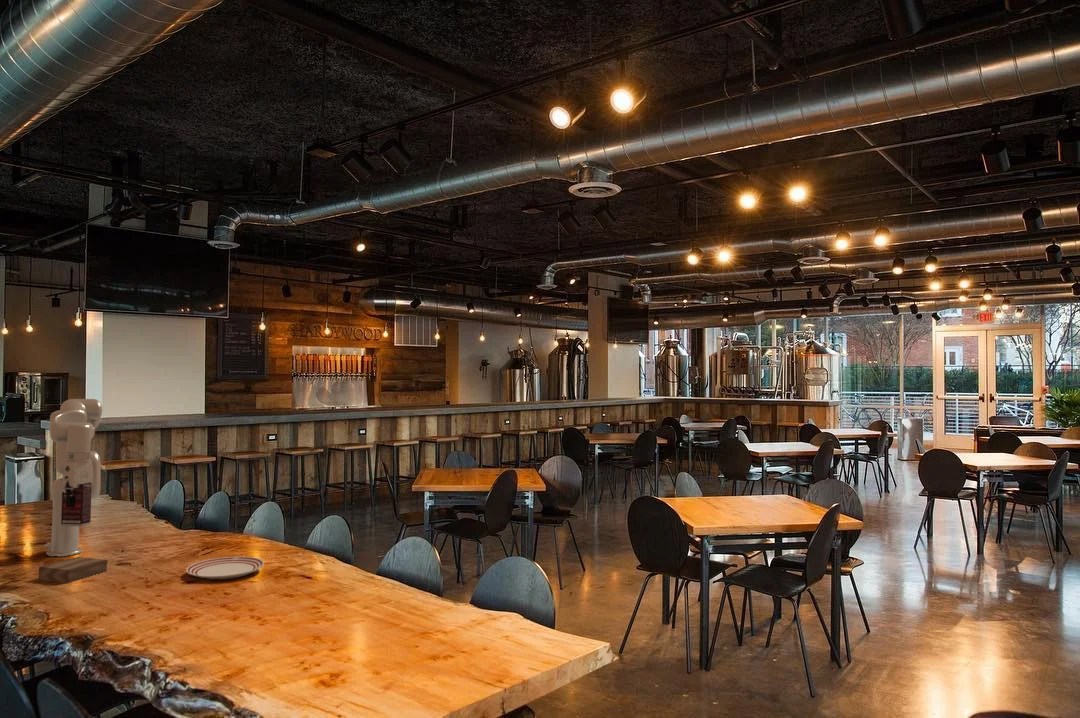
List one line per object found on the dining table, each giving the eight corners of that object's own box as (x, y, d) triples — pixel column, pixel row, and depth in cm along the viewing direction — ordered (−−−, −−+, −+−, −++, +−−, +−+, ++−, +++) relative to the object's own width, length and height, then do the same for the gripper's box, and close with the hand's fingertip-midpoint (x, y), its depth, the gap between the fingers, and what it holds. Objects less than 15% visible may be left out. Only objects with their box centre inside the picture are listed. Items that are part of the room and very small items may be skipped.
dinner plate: (235, 585, 256) (235, 576, 256) (168, 580, 262) (169, 571, 262) (278, 567, 283) (278, 558, 283) (216, 562, 289) (217, 554, 289)
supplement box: (91, 524, 268) (92, 482, 268) (81, 527, 263) (83, 483, 264) (69, 523, 269) (71, 481, 269) (59, 526, 264) (61, 483, 264)
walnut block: (38, 580, 259) (39, 566, 260) (77, 569, 275) (78, 556, 275) (68, 584, 256) (69, 570, 256) (106, 573, 271) (107, 559, 271)
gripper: (69, 459, 258) (66, 510, 257) (104, 455, 275) (102, 502, 274) (50, 458, 259) (48, 509, 258) (86, 454, 276) (85, 501, 275)
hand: (76, 505), depth 266 cm, fingers closed on supplement box, 4 cm apart
